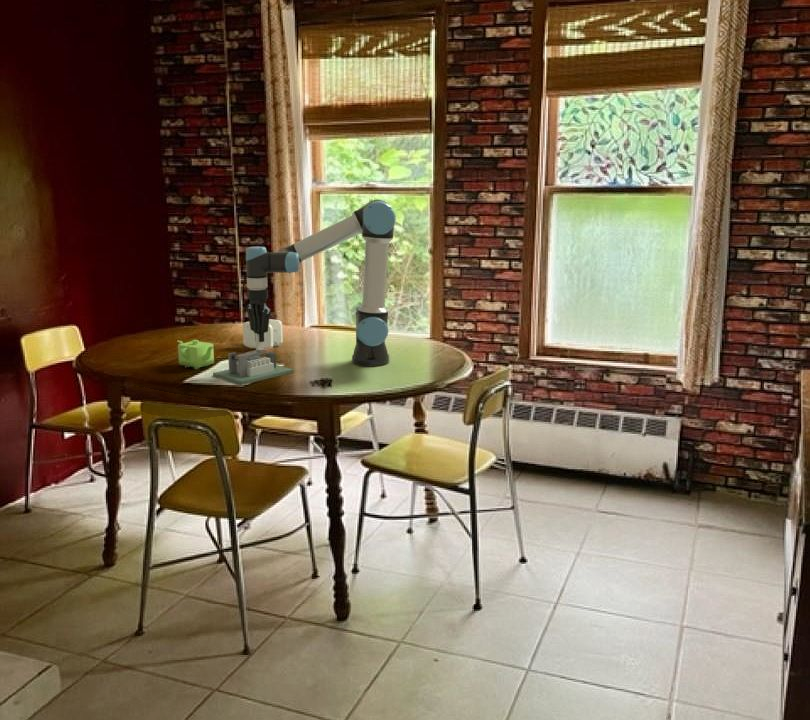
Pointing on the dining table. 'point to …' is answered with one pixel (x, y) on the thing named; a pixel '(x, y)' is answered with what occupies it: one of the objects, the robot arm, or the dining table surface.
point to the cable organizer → (270, 337)
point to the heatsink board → (253, 378)
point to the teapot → (195, 354)
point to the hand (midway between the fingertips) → (260, 349)
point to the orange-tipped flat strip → (254, 353)
